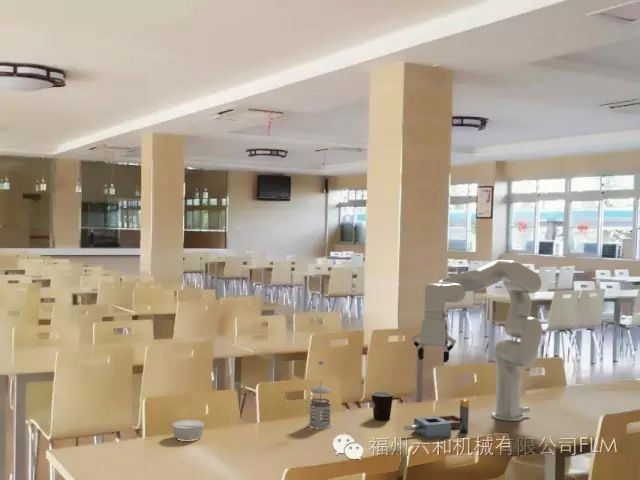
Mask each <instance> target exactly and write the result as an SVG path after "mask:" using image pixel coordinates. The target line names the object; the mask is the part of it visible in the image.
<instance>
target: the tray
mask: <svg viewBox="0 0 640 480" xmlns="http://www.w3.org/2000/svg"><path fill="white" fill-rule="evenodd" d="M438 417H440V418H442V419H444V420H446V421H448V422H450V423H451V430H453V429H454V428H455V429H460V416H457V415H455V414H449V415H438Z"/></svg>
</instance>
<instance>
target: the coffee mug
mask: <svg viewBox="0 0 640 480" xmlns="http://www.w3.org/2000/svg"><path fill="white" fill-rule="evenodd" d="M393 397H394V394H393V393H392V392H389V391H374V392H371V402H372V413H373V420H375V421H378V422H388V421H390V419H391V412H392V405H393V399H394V398H393Z"/></svg>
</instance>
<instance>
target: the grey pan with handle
mask: <svg viewBox="0 0 640 480" xmlns="http://www.w3.org/2000/svg"><path fill="white" fill-rule="evenodd" d="M438 416H439V415H438ZM438 416H437V415H435V416H425V417H414V418H413V424H412V425H405V426H403V430H404V431H406V432H407V431H413V432H415V433H416V434H417V435H419V436H421V437H423V438H425V439H427V440H428V439H429V440H430V439H438V438H437V437H441V438H449V437H450V436H451V437H452V429H451V423H450V422H448V421H446V420H444V419H442V418H440V417H438ZM451 437H450V438H451Z"/></svg>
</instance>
